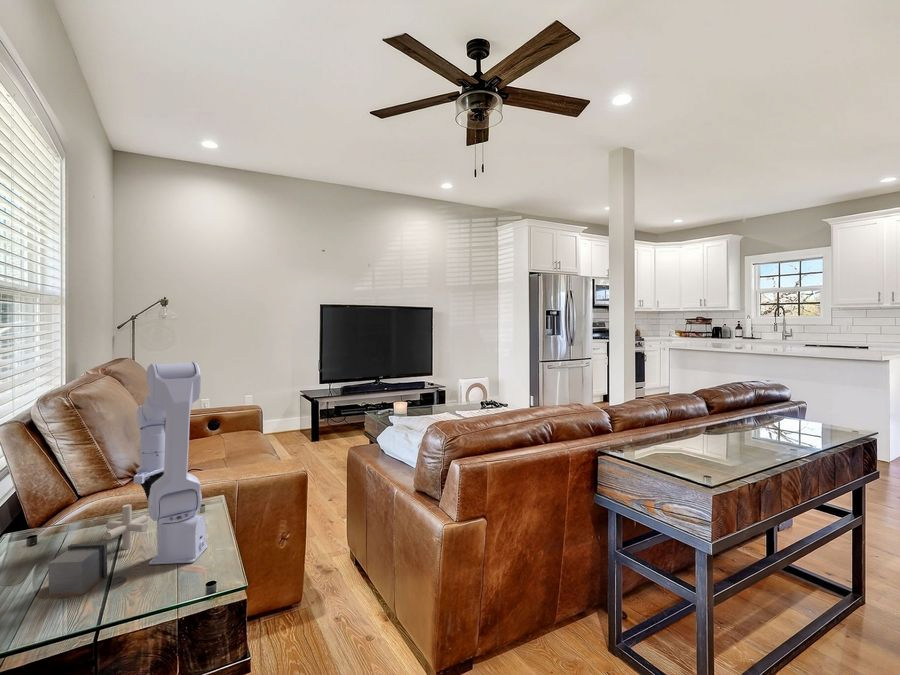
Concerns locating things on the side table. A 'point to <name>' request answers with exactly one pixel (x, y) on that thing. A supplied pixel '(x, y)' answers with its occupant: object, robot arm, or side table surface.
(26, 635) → the side table surface
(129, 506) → the pipe connector
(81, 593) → the duct stub
